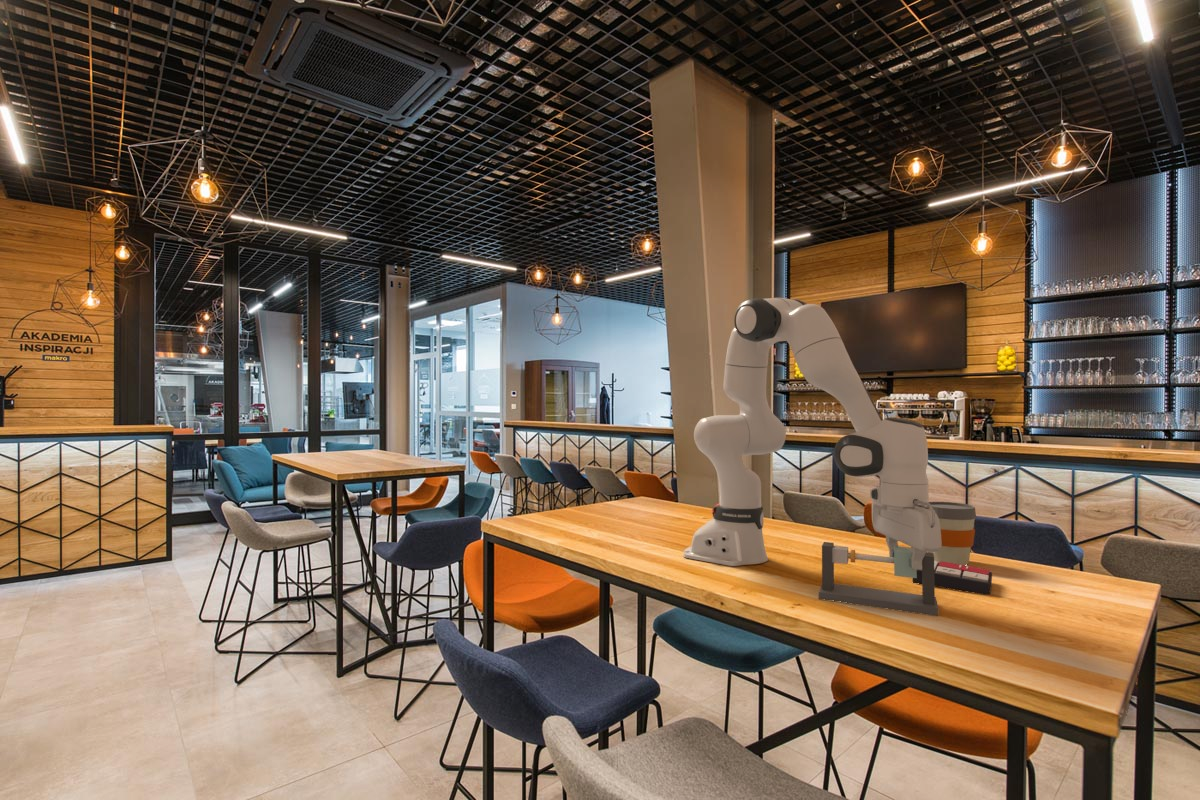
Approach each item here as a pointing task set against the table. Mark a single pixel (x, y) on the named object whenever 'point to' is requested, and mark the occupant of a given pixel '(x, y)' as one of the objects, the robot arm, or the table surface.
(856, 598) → the sliding block rail stand
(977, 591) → the calculator
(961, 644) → the table surface
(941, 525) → the reusable coffee cup
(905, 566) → the sleeve
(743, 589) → the table surface
